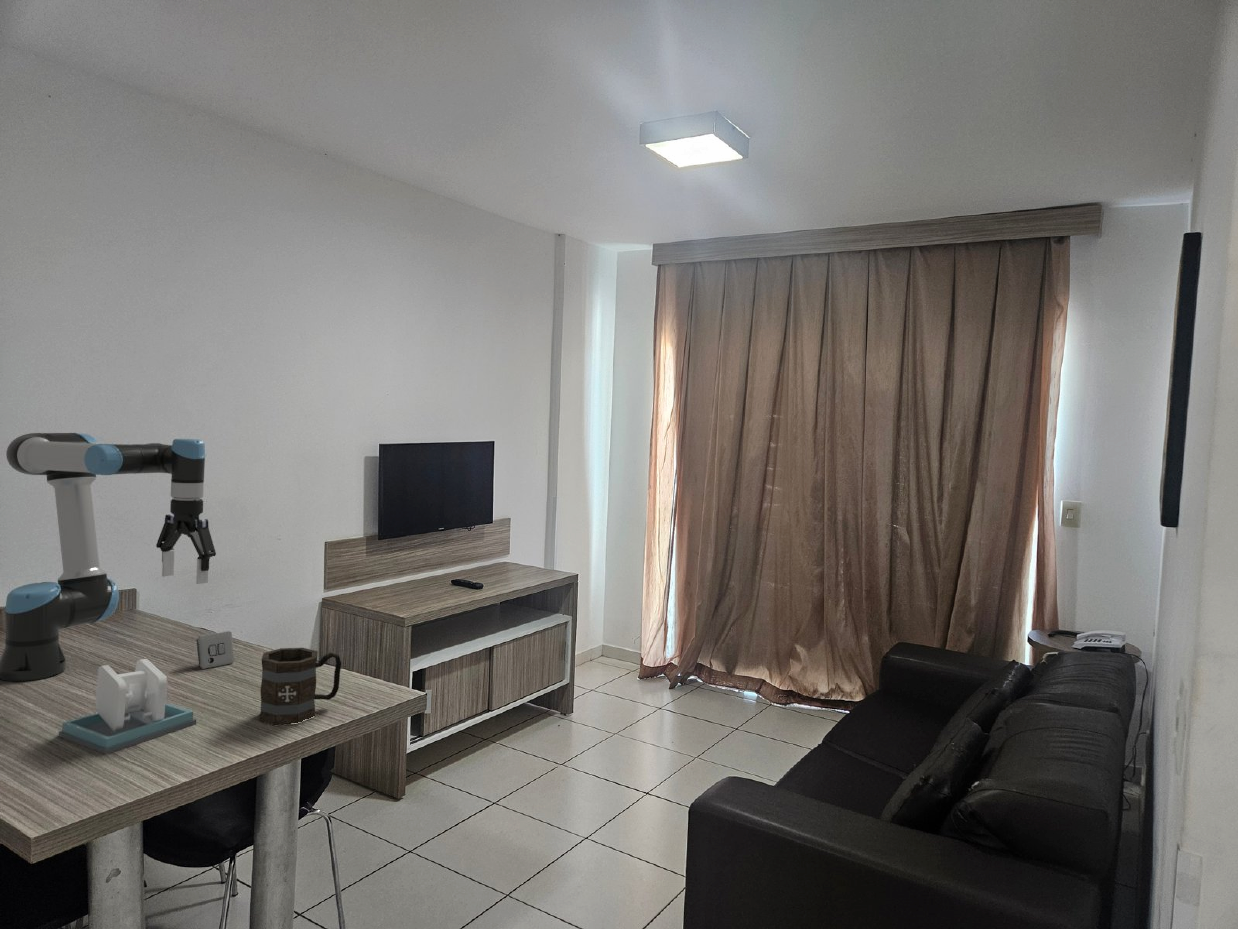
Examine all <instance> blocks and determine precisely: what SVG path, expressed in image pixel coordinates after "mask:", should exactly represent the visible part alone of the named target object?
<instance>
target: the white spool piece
mask: <svg viewBox="0 0 1238 929" xmlns="http://www.w3.org/2000/svg"><path fill="white" fill-rule="evenodd" d="M167 678H168V677H167V676H166V675H165V674H164V673H163V671H161V670H160V669H158V667H156V666H155V665H154V664H153V663H152V662H151V661H150V660H149V659H148V658H143V659H137V660H136V661H135V671H132V672H131V671H130V672H126V673H119V674H118V673H117V672H116V671H115V670H114V669H113V668H112V667H111V666H110V665H109V664H105V665H101V666H99V667H98V670H97V681H96V690H95V700H94V701H95V703H94V704H95V705H94V706H95V710H96V713H98V714H99V715H100V717H101V718H102V719H103V720H104V721H105V722H106V723H107V724H108V725H109V727H110V728H111V729H112V730H113V731H118V730H120V729H122V728H123V725H124V721H127V720H129V722H130V719H131V718H130V714H129V713H131V712H136V711H142V712H143V717H142V718H143V720H144V718H145V717H148V718H149V719H150V720H151V721H152V722H156V721H159V720H163V719H164V713H165V703H167V702H166V700H167V692H168V679H167ZM126 713H128V716H127V717H124V714H126Z"/></svg>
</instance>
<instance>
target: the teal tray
mask: <svg viewBox="0 0 1238 929" xmlns="http://www.w3.org/2000/svg"><path fill="white" fill-rule="evenodd" d="M129 714H130V718H131V719H130V722H129V720H127V721H124V725H123V728H122V729H120V730H118V731H113V730H112V729H111V728H110V727H109V725H108V724H107V723H106V722H105V721H104V720H103V719H102V718H101V717H100V715H99V714H98V713H97V712H95V713H91V714H88V715H85V716H81V717H78V718H74V719H71V720H67V721H63V722H62V725H61V728H62V729H61V730H59V731H58V737H59V738H61V739H65V740H67V741H70V742H73V743H75V744H77V745H80V746H83V747H85V748H88V749H90V750H93V751H96V752H99V753H101V754H104V755H108V754H111V753H114V752H118V751H120V750H124V749H126V748H129V747H132V746H134V745H138V744H141V743H143V742H146V741H149V740H152V739H155V738H158V737H161V736H164V735H168V734H170V733H173V732H176V731H179V730H182V729H185V728H189V727H191V726H194V725H197V719H195V718H194V711H192V710H190V709H187V708H184V707H180V706H178V705H175V704H171V703H168V702H166V703H165V713H164V719H163V720H159V721H156V722H152V721H151V720H150V719H149V718H148V717H145V718H144V720H143V718H142V717H143V712H142V711H136V712H131V713H129ZM127 716H128V713H126V714H124V717H127Z"/></svg>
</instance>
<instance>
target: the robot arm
mask: <svg viewBox="0 0 1238 929" xmlns="http://www.w3.org/2000/svg"><path fill="white" fill-rule="evenodd" d="M171 443H172V444H163V443H159V442H158V443H157V442H155V443H154V442H151V443H150V442H149V443H145V444H143V443H142V444H141V443H139V444H136V443H135V444H123V443H122V444H121V443H120V444H118V443H117V444H114V443H100V442H99V440H97V439H95V437H94V436H92V435H90V434H87V433H77V432H33V433H32V432H31V433H30V432H29V433H26V434H22V435H20V436H18V437H16V438H14V439H13V440H12V441H11V442H10V443H9V445H8V446H7V449H6V452H5V454H6V459H7V460H6V461H7V462H8V464H9V466H11V468H12V469H14V471H15V470H16V471H17V472H19V473H21V474H25V475H30V476H46V482H47V484H49V485H51V487H53V488H54V497H55V506H56V515H57V526H58V533H59V534H58V536H59V544H60V553H61V562H62V574H61V575H60V576H59V577H58V578H57V582H55V581H42V582H34V583H28V584H25V585H20V586H17V587H16V588H14V589H11V591H9V593H8V594H7V595H6V600H5V606H4V611H5V632H4V633H5V634H4V635H5V636H4V638H5V641H4V642H5V646H4V649H3V650H2V654H1V657H0V680H1V681H7V682H24V681H26V682H27V681H36V680H42V679H48V678H50V676H51V677H54V676H53V675H55V674H57V675H60V674H62V673H63V672H62V671H64V672H65V671H66V670H65V669H67V660H66V657H65V655H64V652H63V649H62V646H61V644H60V630H61V629H66V628H72V627H77V626H81V625H85V624H94V623H97V622H99V621H103V620H107V619H108V618H110V617H111V616H112V615H113V614H114V613H115V611H116V609H117V607H118V604H119V600H120V596H119V595H120V593H119V589H118V586H117V585H116V582H115V581H114V580H113V579H110V578H108V574H107V572H106V571H105V570H103V569H102V568H101V567H100V560H99V550H98V541H97V532H96V523H95V513H94V504H93V494H92V486H91V485H92V484H93V483H94V481H96V479H97V476H111V475H127V474H128V475H129V474H132V475H136V474H170V475H171V479H170V481H171V482H170V497H171V498H172V499H171V500H170V509H169V511H170V513H171V514H165V516H164V523H163V526H162V529H161V532H160V534H159V536H158V539H157V542H156V545H155V546H156V548H157V549H160V551H161V563H162V568H161V569H162V570H161V571H162V572H161V577H169V576H174V574H175V573H174V572H175V571H174V569H175V568H174V567H175V548H174V547H175V545H176V544H177V542H178V541H179V539H180V537H181V536H182V535H185V536H187V537H188V538H190V541H191V542H192V545H193V547H194V549H195V551H196V553H197V555H198V557H197V558H196V576H195V578H196V579H195V581H196V582H195V583H196V584H197V585H200V584H206V583H208V582H209V580H208V579H209V570H210V558H213V557H216V556H217V552H216V549H215V546H214V542H213V539H212V535H211V531H210V528H209V520H208V518H205V519H204V518H203V519H200V515H201V514H203V513H204V500H203V499H202V498H203V497H204V485H205V484H204V481H205V466H206V464H205V463H206V462H205V461H206V450H205V448H206V447H205V445H206V444H205V442H204V441H203V440H202V439H199V438H198V439H197V438H195V439H194V438H174V439H173V440H172V442H171ZM61 672H62V673H61ZM55 676H56V675H55Z"/></svg>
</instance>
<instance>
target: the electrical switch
mask: <svg viewBox="0 0 1238 929" xmlns="http://www.w3.org/2000/svg"><path fill="white" fill-rule="evenodd" d="M233 642H234V641H233V634H232V631H230V630H227V631H222V632H215V633H214V632H213V633H208V634H203V635H202V634H201V635H199V636H198V637H197V638H196V647H197V659H198V660H197V662H198V667H200V668H201V669H202V670H204V669H205V670H206V669H210V668H214V667H219V666H220V667H221V666H225V665H230V664H233V663H234V662H235V653H234V652H235V651H234V643H233Z"/></svg>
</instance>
